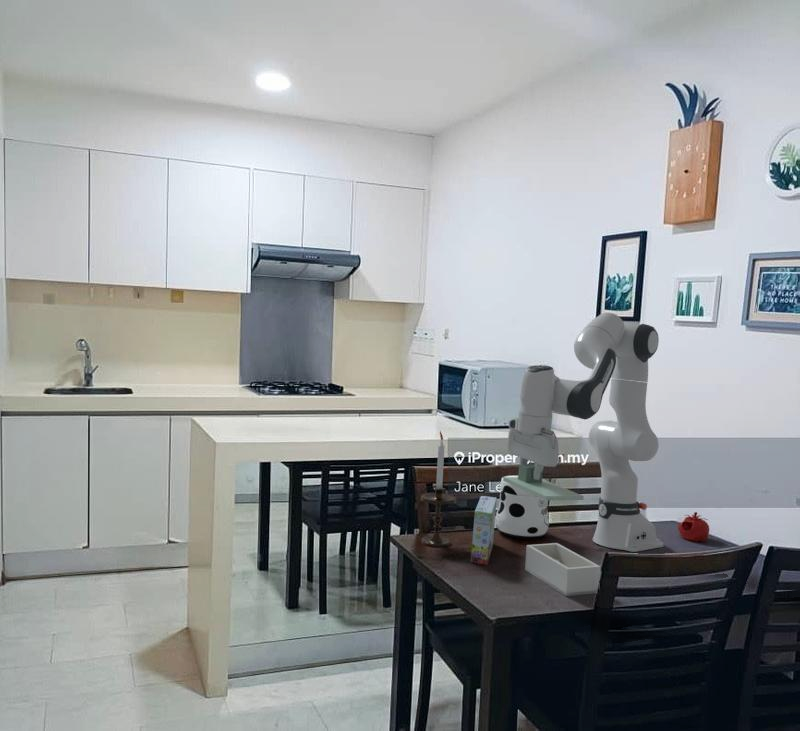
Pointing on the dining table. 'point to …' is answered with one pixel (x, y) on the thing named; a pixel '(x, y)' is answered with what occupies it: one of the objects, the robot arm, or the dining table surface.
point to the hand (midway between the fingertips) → (530, 477)
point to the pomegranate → (694, 528)
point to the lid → (540, 486)
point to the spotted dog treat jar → (521, 513)
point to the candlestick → (438, 503)
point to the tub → (562, 569)
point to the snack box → (483, 530)
